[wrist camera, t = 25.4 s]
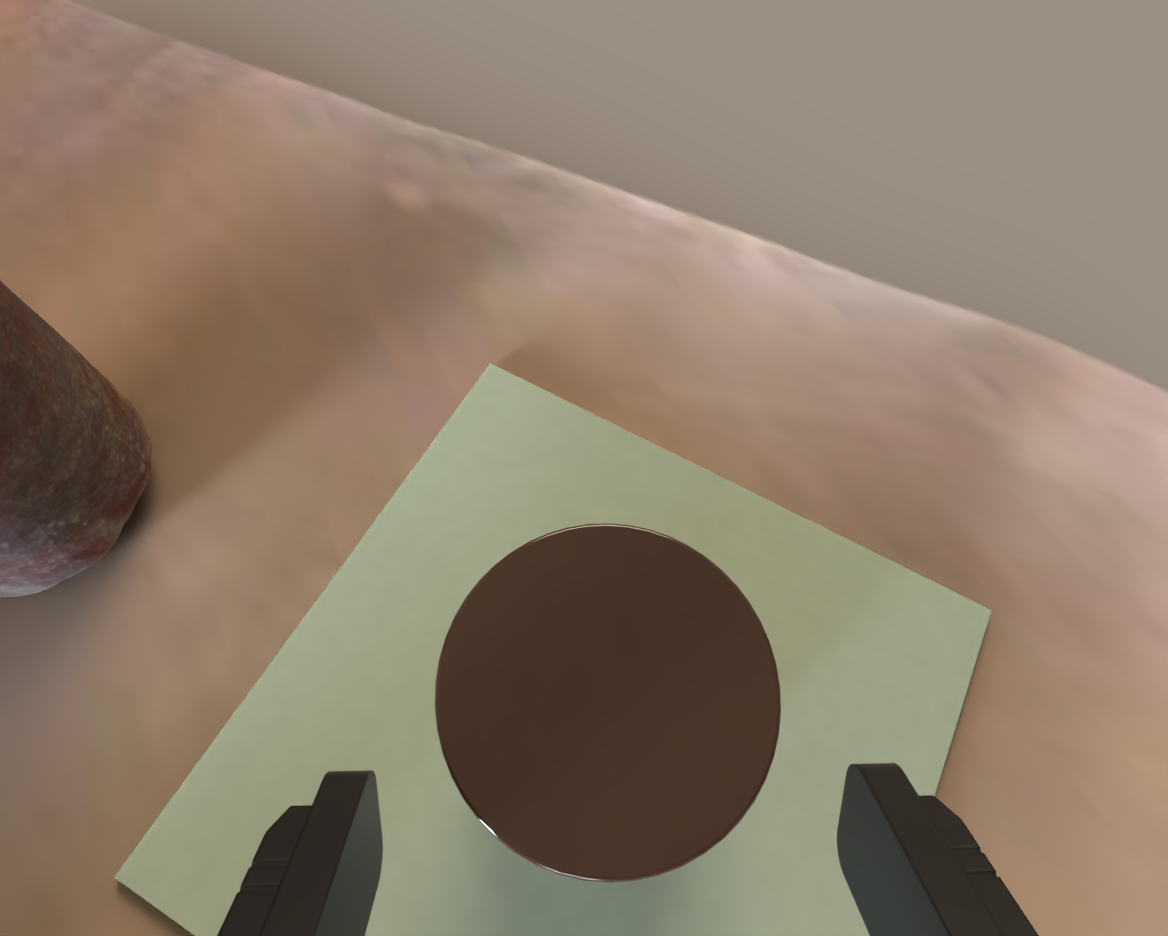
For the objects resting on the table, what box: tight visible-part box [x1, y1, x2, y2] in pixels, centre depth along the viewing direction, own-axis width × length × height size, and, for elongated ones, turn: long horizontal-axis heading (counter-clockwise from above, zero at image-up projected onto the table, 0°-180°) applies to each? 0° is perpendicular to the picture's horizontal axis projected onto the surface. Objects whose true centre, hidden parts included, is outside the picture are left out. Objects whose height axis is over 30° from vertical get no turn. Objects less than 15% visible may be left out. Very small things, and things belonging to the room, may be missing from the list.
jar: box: [435, 523, 781, 883], centre depth 17 cm, size 6×6×8 cm
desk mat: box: [114, 363, 991, 936], centre depth 21 cm, size 18×18×1 cm
